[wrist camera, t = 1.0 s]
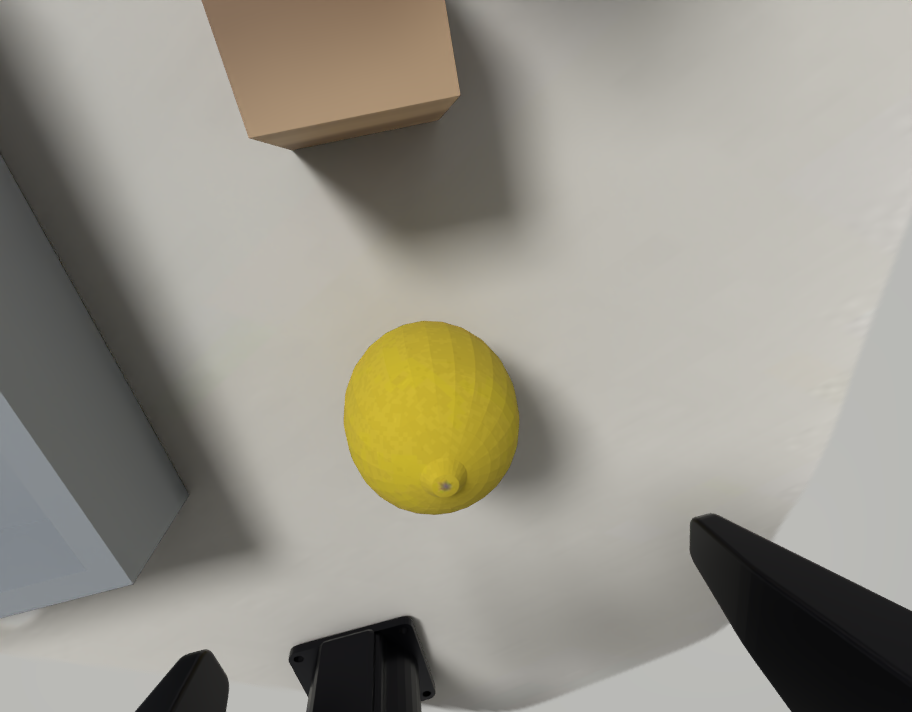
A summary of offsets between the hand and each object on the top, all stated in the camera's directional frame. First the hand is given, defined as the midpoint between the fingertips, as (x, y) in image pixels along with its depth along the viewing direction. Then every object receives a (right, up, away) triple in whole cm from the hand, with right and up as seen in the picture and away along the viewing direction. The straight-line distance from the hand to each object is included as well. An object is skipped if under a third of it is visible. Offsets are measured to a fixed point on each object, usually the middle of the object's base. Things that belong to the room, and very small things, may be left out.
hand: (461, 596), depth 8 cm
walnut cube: (-4, +14, +6) cm, 16 cm away
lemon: (-2, +4, +10) cm, 11 cm away
